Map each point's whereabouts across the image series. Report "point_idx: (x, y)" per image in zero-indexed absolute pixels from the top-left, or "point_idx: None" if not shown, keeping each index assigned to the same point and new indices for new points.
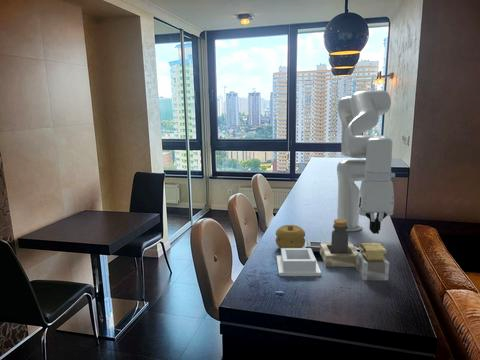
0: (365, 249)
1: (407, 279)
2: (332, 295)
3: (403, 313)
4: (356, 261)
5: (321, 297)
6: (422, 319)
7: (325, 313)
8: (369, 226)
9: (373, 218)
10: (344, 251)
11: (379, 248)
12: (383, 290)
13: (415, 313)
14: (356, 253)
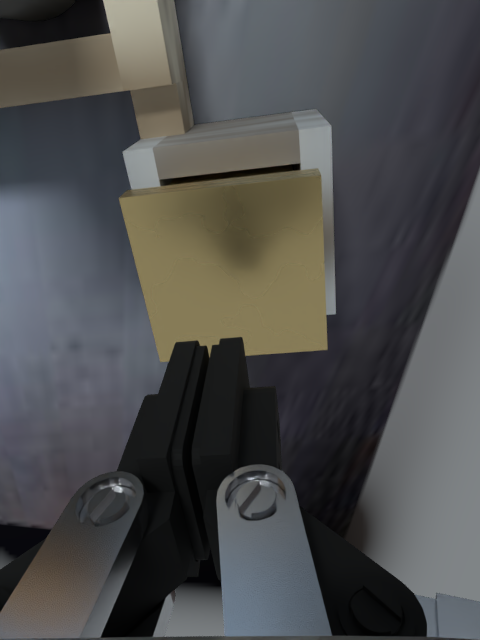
0: (155, 339)
1: (440, 239)
2: (45, 408)
3: (295, 486)
4: (141, 137)
5: (5, 423)
6: (346, 507)
7: (38, 498)
8: (139, 410)
9: (142, 633)
10: (24, 1)
11: (277, 315)
12: (267, 357)
13: (337, 484)
14: (137, 24)
